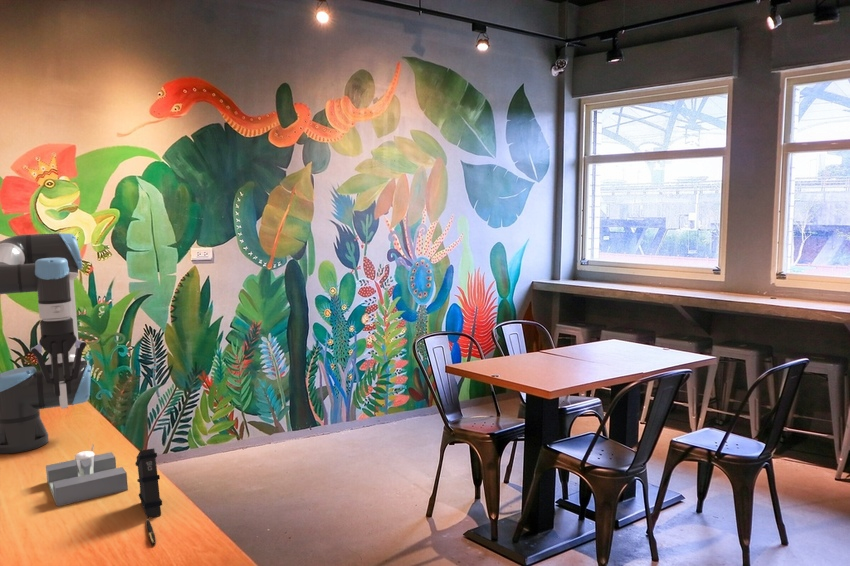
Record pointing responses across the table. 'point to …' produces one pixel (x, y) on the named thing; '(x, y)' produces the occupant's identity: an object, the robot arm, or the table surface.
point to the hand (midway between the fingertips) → (63, 406)
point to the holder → (85, 480)
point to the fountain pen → (150, 532)
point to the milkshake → (85, 462)
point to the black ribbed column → (149, 482)
